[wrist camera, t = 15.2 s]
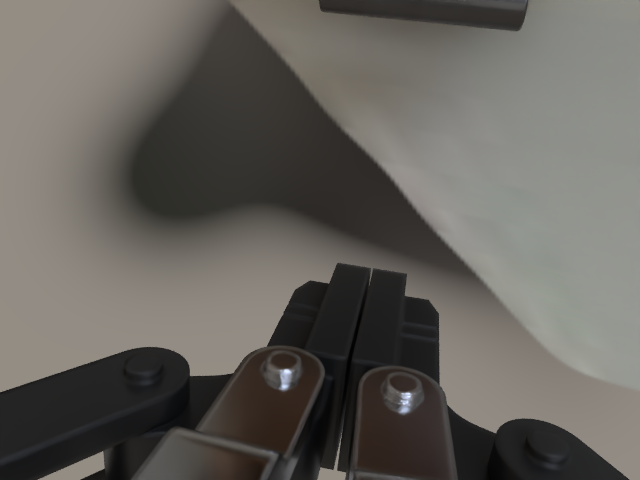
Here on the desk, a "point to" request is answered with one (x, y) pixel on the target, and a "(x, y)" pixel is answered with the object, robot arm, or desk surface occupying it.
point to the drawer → (438, 11)
